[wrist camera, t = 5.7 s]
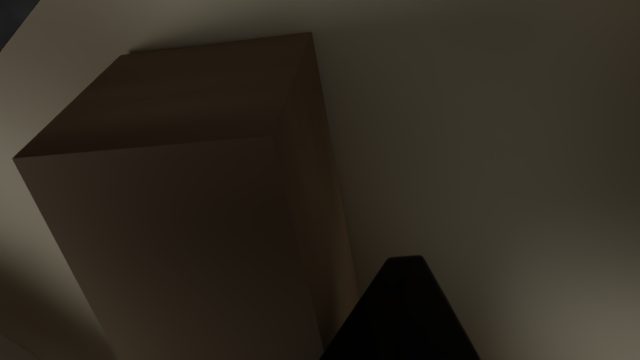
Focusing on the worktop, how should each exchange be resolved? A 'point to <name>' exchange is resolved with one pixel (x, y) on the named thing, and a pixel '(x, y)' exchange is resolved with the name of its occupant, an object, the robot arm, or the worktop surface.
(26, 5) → the worktop surface
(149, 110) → the brown square bar
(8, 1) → the worktop surface
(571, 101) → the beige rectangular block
